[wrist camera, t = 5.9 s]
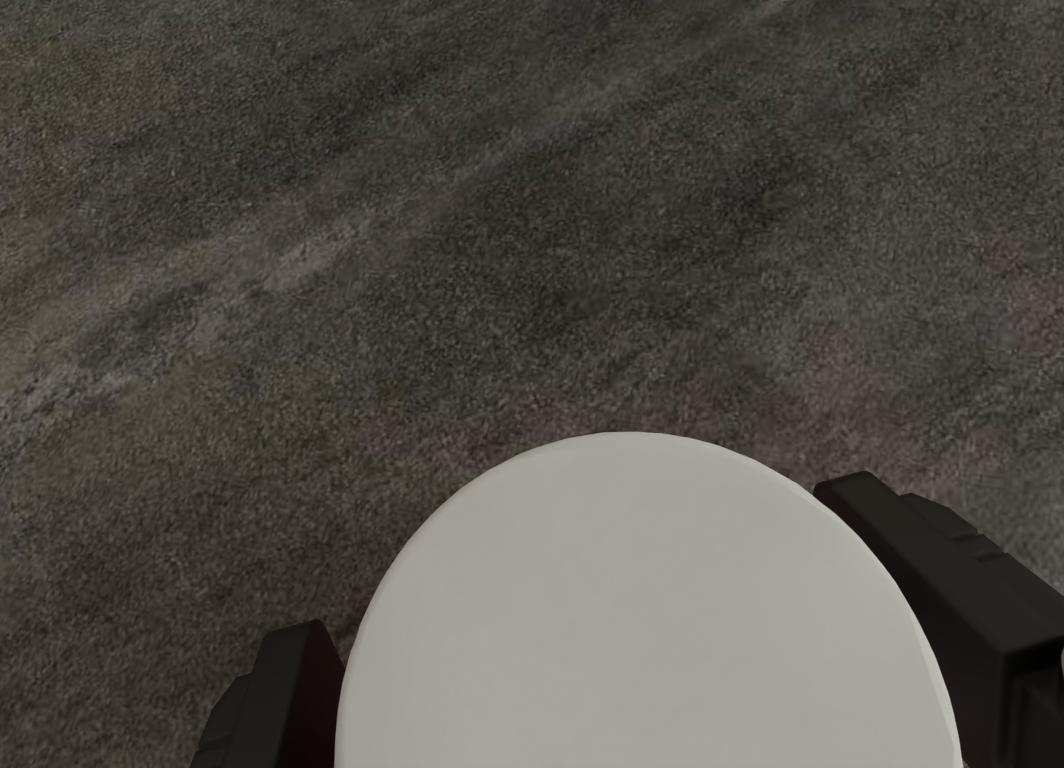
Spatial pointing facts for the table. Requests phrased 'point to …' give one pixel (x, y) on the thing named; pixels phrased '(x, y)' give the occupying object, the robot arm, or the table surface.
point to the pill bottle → (640, 625)
